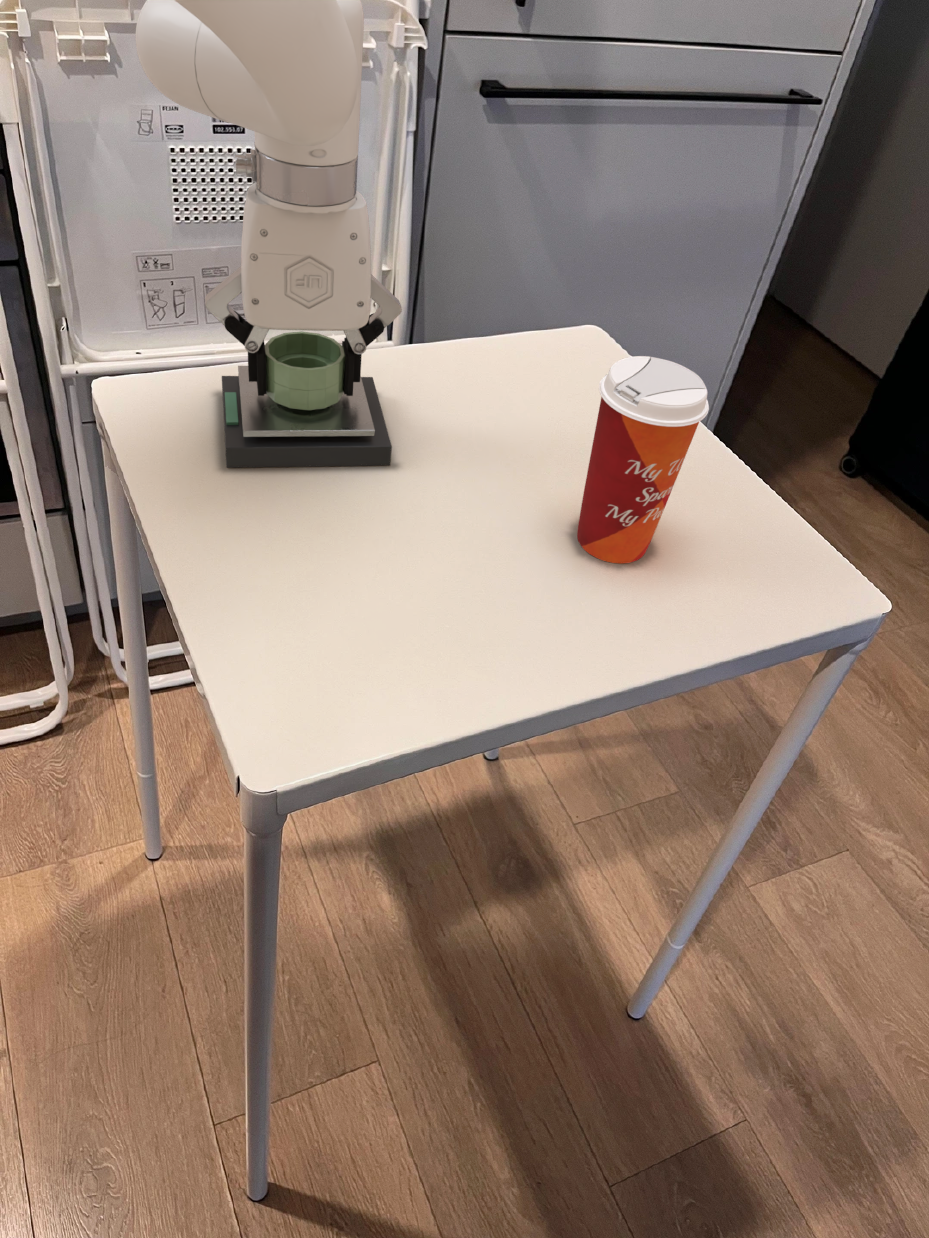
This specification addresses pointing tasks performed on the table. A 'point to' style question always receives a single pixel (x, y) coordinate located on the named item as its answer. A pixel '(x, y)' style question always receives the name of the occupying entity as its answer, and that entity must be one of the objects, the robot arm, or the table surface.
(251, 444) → the scale base
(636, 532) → the coffee cup
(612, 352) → the table surface
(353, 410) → the platform
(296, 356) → the bowl
